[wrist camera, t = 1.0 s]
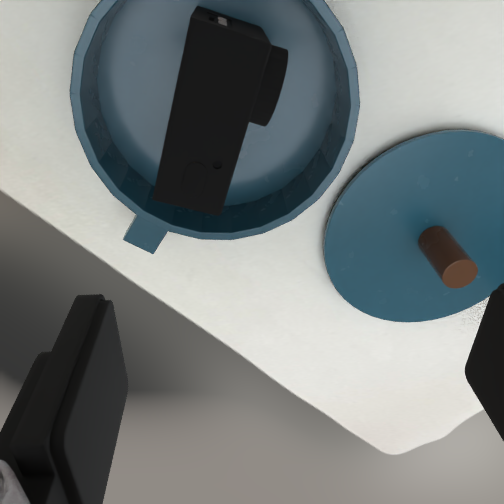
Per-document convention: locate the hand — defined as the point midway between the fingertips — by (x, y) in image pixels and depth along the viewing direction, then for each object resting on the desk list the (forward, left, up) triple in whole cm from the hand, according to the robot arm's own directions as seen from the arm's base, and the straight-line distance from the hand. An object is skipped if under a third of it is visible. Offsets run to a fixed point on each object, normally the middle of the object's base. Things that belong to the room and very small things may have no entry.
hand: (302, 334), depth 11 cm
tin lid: (+11, +15, -23) cm, 30 cm away
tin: (0, -2, -24) cm, 24 cm away
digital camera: (0, -2, -24) cm, 24 cm away
